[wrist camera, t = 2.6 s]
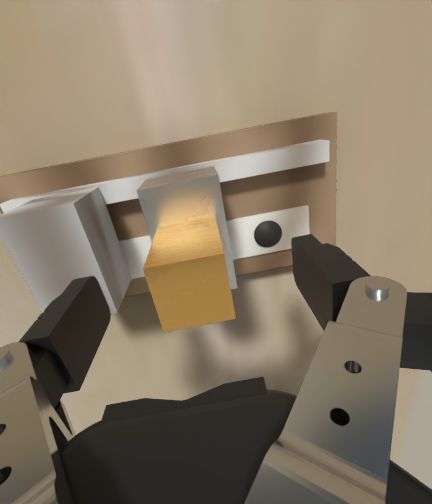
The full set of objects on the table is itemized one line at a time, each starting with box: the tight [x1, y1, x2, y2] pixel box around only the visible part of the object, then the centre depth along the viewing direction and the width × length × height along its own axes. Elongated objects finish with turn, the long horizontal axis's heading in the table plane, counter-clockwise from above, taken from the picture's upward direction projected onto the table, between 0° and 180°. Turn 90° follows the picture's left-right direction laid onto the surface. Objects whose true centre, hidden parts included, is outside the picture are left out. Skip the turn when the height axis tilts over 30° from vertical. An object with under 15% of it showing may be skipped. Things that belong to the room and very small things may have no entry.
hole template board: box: [0, 112, 337, 314], centre depth 18 cm, size 22×10×6 cm, turn 100°
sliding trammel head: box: [136, 166, 237, 332], centre depth 15 cm, size 4×6×9 cm, turn 10°
